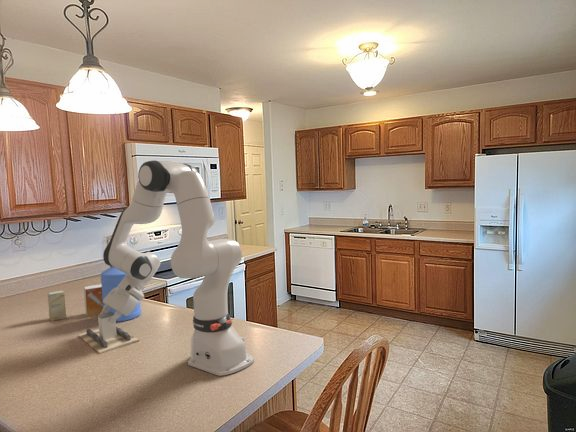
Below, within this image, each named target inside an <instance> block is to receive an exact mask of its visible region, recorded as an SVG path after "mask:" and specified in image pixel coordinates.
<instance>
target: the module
mask: <svg viewBox="0 0 576 432" xmlns="http://www.w3.org/2000/svg"><path fill="white" fill-rule="evenodd" d="M114 314H115V313H113V312H108V313H104V314H100V315H97V319H98V320H97V322H98V329H99V336H100V337H101V338H102V339H104V340H107V339H110V338H113V337H117V332H116V325H117V322H116V320H115V322H114V323H111V322H109V321H108V320H109V319H110V317H112V316H113V315H114Z"/></svg>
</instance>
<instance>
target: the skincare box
mask: <svg viewBox="0 0 576 432" xmlns="http://www.w3.org/2000/svg"><path fill="white" fill-rule="evenodd" d="M65 293H66V292H65V291H64V290H62V289H61V290H58V291H51V292H47V301H48V316H49V317H48V318H49V320H50V321H51V322H53V321H57V320H63V319H64V320H65V319H66V318H67V311H66V298H65V296H66V295H65Z"/></svg>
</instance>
